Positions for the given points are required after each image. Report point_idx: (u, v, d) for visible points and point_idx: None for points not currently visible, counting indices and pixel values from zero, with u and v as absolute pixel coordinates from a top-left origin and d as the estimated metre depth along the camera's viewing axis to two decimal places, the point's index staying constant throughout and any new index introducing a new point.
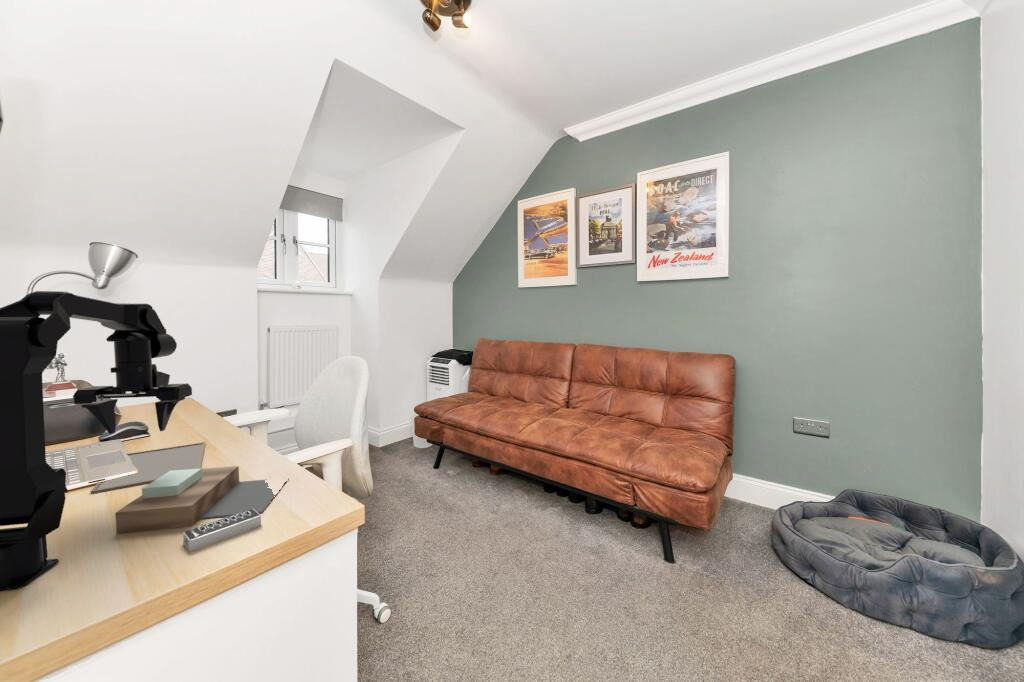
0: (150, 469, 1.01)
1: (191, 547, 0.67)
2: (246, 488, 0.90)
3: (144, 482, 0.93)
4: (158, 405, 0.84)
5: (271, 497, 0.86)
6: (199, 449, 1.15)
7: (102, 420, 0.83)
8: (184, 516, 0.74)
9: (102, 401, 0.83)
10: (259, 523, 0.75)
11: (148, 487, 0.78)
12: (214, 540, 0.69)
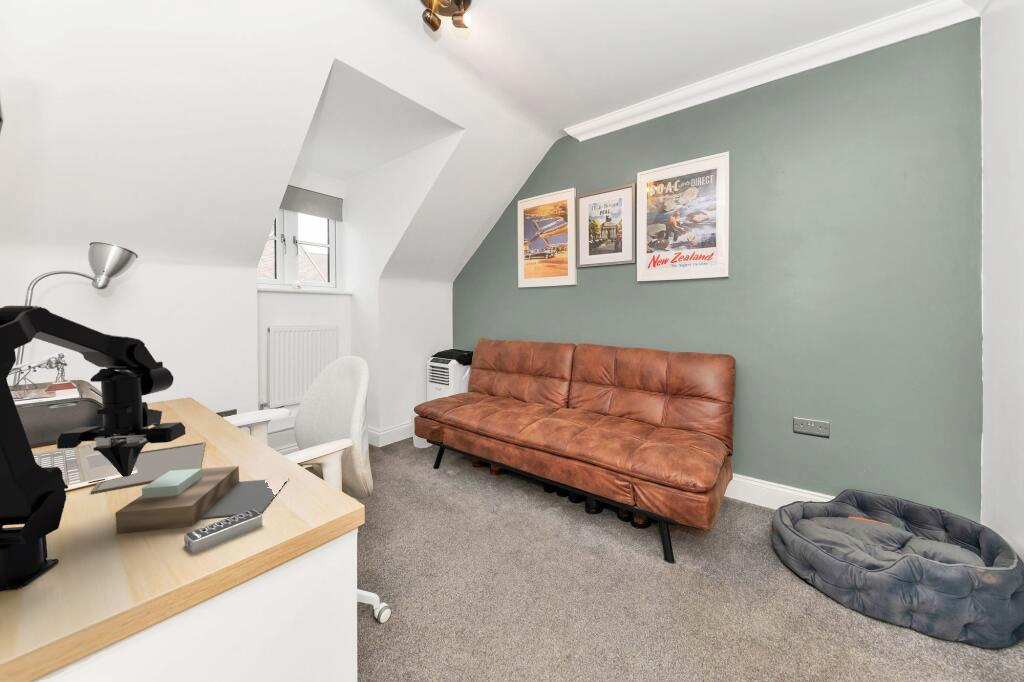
0: (150, 469, 1.01)
1: (194, 548, 0.67)
2: (246, 488, 0.90)
3: (144, 482, 0.93)
4: (122, 450, 0.77)
5: (271, 497, 0.86)
6: (199, 449, 1.15)
7: (115, 463, 0.78)
8: (184, 516, 0.74)
9: (115, 442, 0.79)
10: (261, 523, 0.75)
11: (148, 487, 0.78)
12: (217, 541, 0.69)
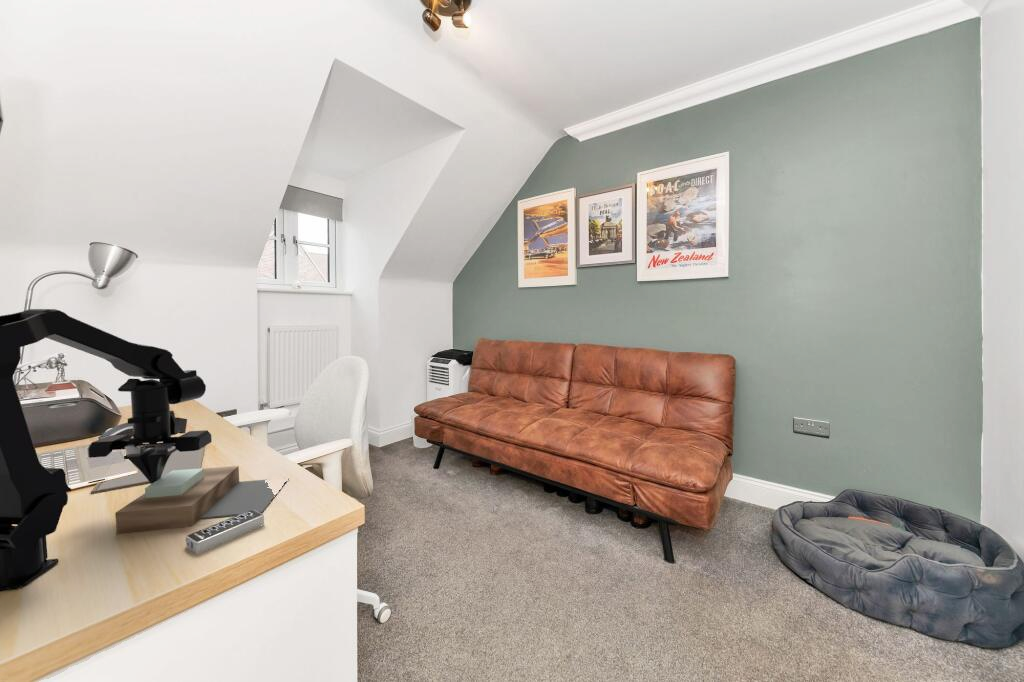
0: None
1: (198, 549, 0.66)
2: (246, 488, 0.90)
3: (144, 482, 0.93)
4: (151, 458, 0.79)
5: (271, 497, 0.86)
6: None
7: (145, 471, 0.79)
8: (184, 516, 0.74)
9: (144, 451, 0.80)
10: (262, 523, 0.75)
11: (151, 487, 0.78)
12: (220, 541, 0.69)
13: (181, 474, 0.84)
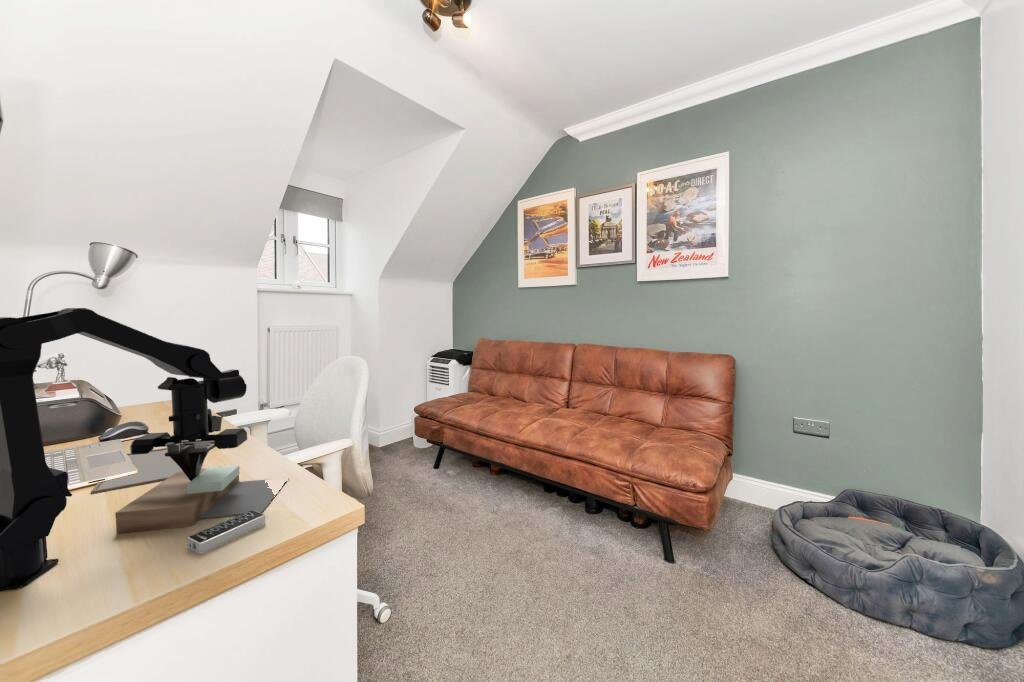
0: (150, 469, 1.01)
1: (201, 550, 0.66)
2: (246, 488, 0.90)
3: (144, 482, 0.93)
4: (191, 455, 0.80)
5: (271, 497, 0.86)
6: None
7: (184, 468, 0.81)
8: (184, 516, 0.74)
9: (183, 448, 0.82)
10: (264, 522, 0.75)
11: (193, 483, 0.80)
12: (223, 542, 0.69)
13: (218, 471, 0.86)
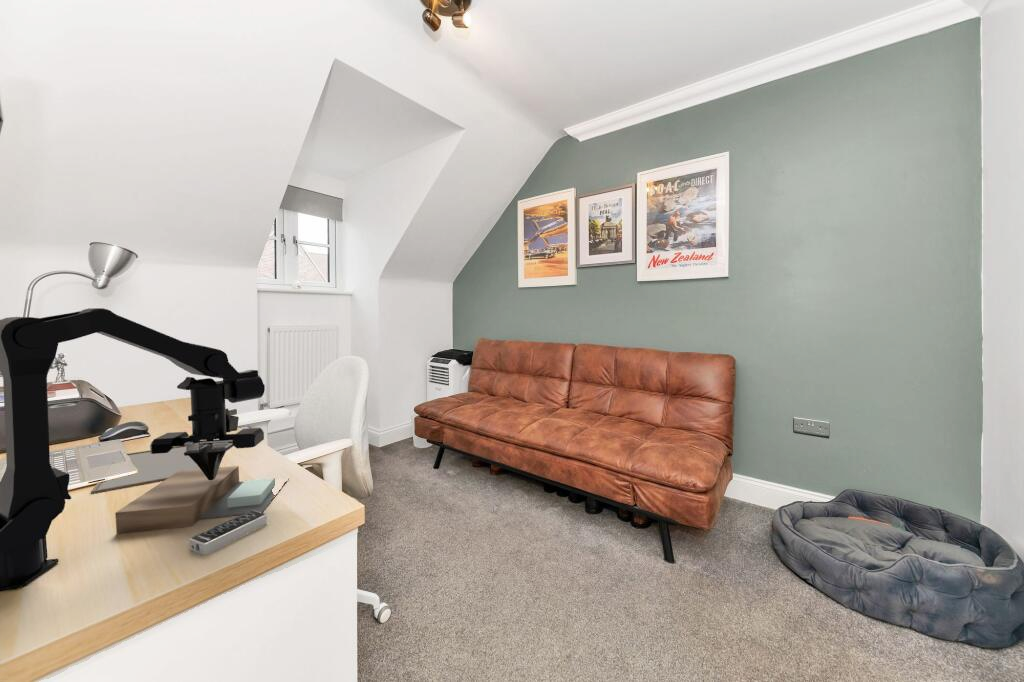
0: (150, 469, 1.01)
1: (205, 551, 0.66)
2: None
3: (144, 482, 0.93)
4: (210, 455, 0.81)
5: (271, 497, 0.86)
6: None
7: (203, 467, 0.82)
8: (184, 516, 0.74)
9: (202, 448, 0.82)
10: (265, 522, 0.75)
11: None
12: (226, 542, 0.69)
13: None
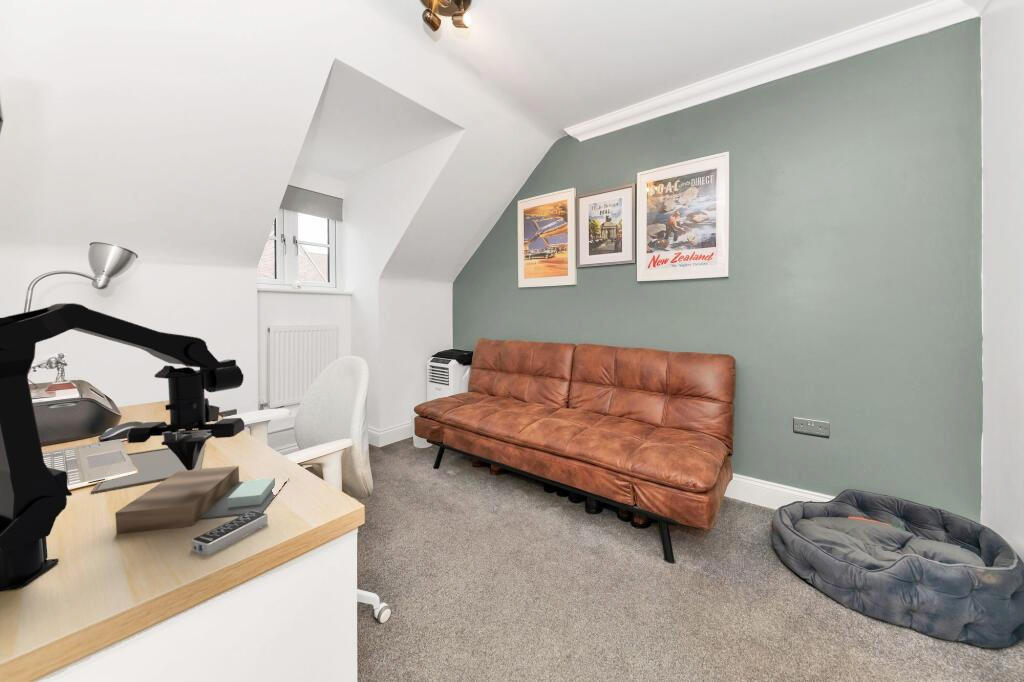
0: (150, 469, 1.01)
1: (209, 551, 0.66)
2: None
3: (144, 482, 0.93)
4: (188, 444, 0.80)
5: (271, 497, 0.86)
6: None
7: (181, 457, 0.81)
8: (184, 516, 0.74)
9: (180, 437, 0.81)
10: (266, 522, 0.75)
11: None
12: (229, 542, 0.69)
13: None
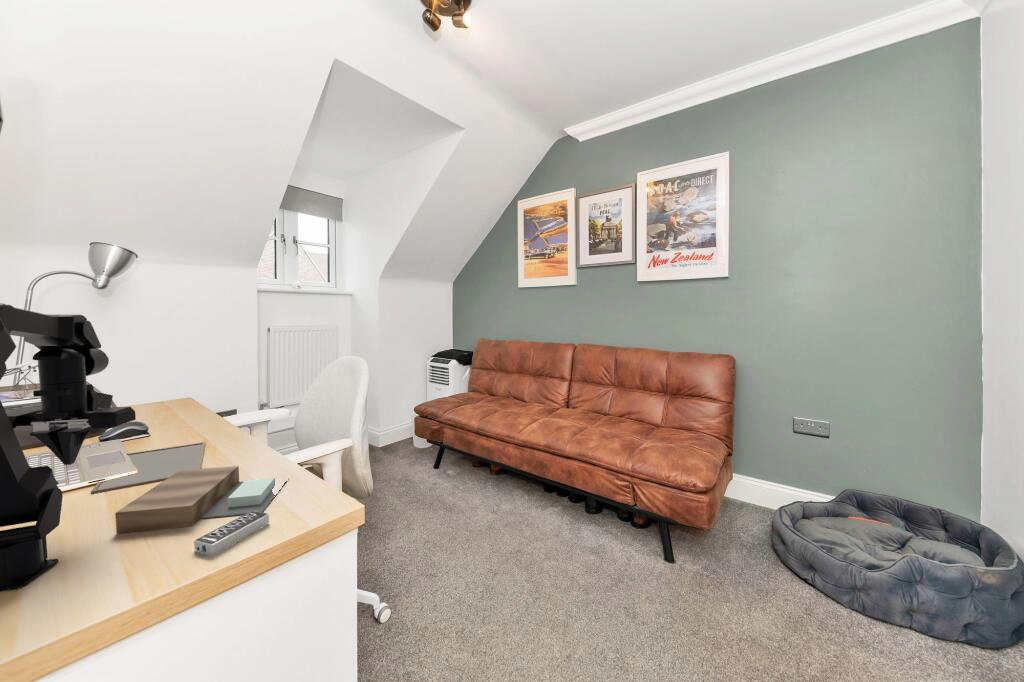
0: (150, 469, 1.01)
1: (213, 552, 0.66)
2: None
3: (144, 482, 0.93)
4: (61, 435, 0.71)
5: (271, 497, 0.86)
6: (199, 449, 1.15)
7: (55, 450, 0.72)
8: (184, 516, 0.74)
9: (55, 428, 0.72)
10: (268, 522, 0.75)
11: None
12: (232, 542, 0.69)
13: None
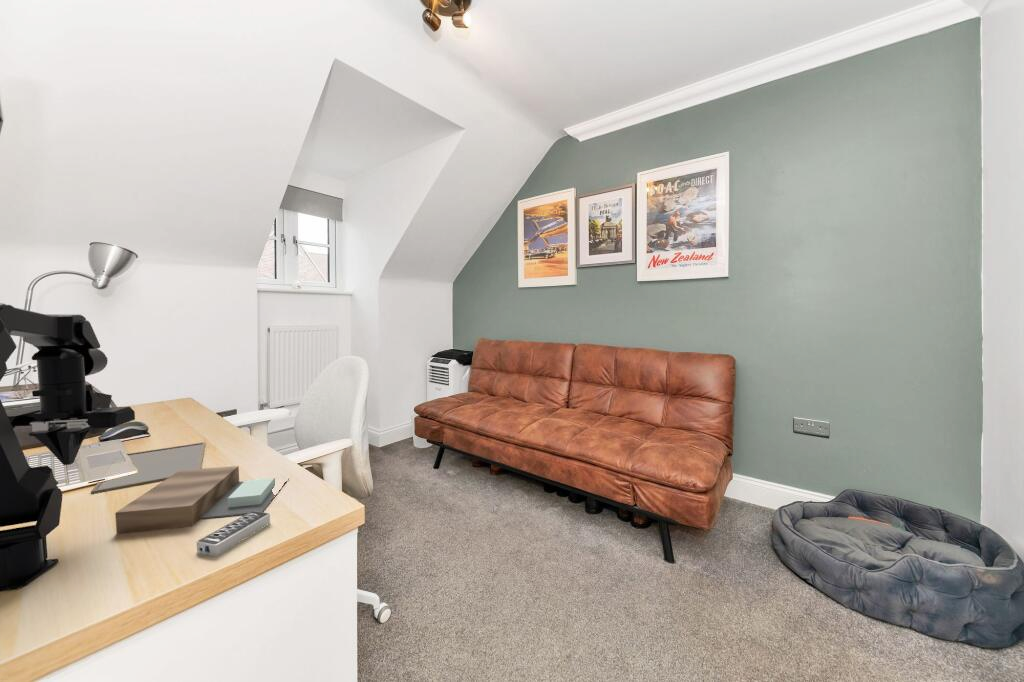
0: (150, 469, 1.01)
1: (216, 552, 0.66)
2: None
3: (144, 482, 0.93)
4: (60, 435, 0.71)
5: (271, 497, 0.86)
6: (199, 449, 1.15)
7: (54, 450, 0.72)
8: (184, 516, 0.74)
9: (54, 428, 0.72)
10: (269, 521, 0.76)
11: None
12: (235, 542, 0.69)
13: None
